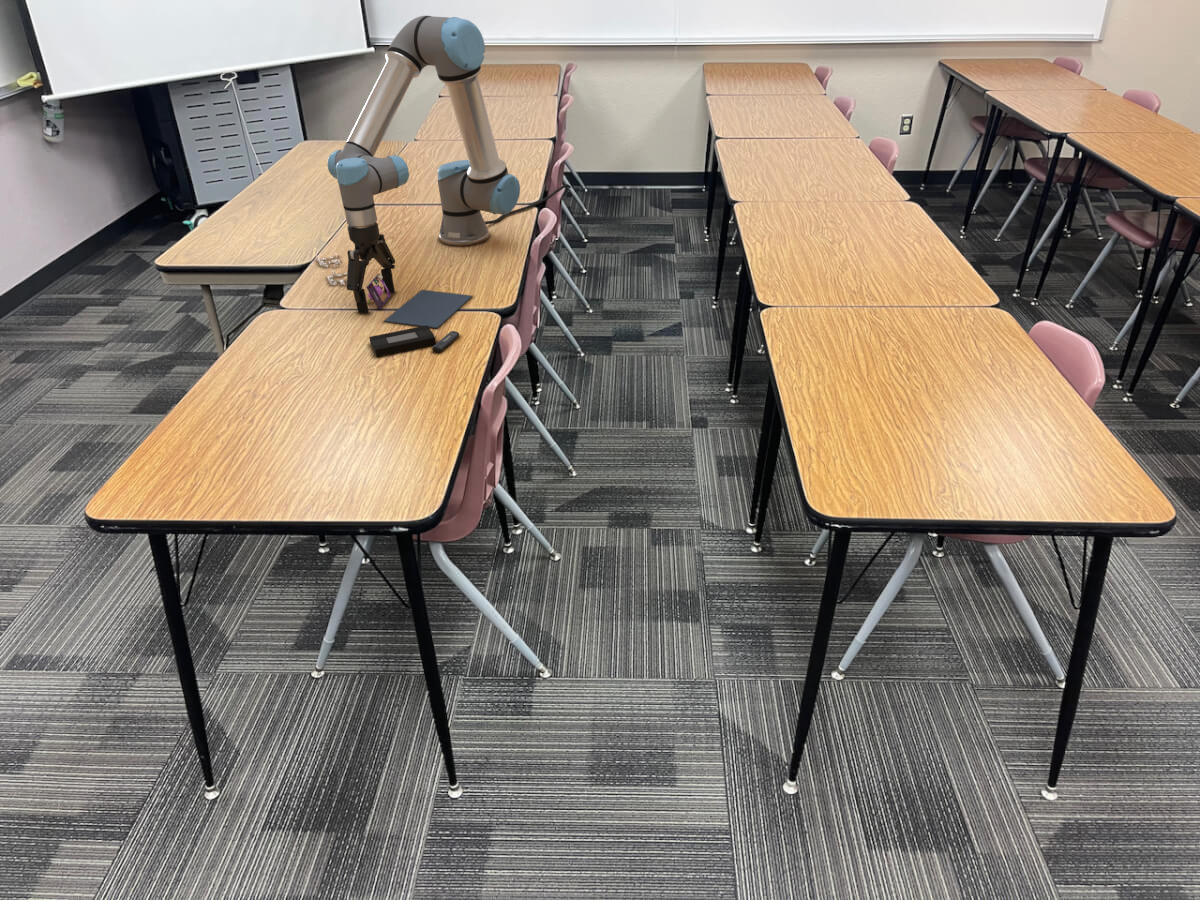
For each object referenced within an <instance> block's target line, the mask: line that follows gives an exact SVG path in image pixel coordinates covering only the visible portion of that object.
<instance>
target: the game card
mask: <svg viewBox="0 0 1200 900" xmlns="http://www.w3.org/2000/svg"><path fill="white" fill-rule="evenodd" d="M380 282H381V284H382V285H383V286H380V284H379V283H380ZM384 287H385V289H386V291H387V293H386V296H387V298H385V300H384V301H383V300H382V298H381V296H382V295H383V293H384ZM365 288H366V290H367V291H368V298H369V299H368V301H367V304H370V303H371V302H372V301H373V302H374V304H375V306H376V308H377V309H378V311H380V310H381V309H382V308H383V307H384V305H385V304H386V303H387V302H388V300H390V298H391V297H392V293H390V292H389V290H388V288H387V287H386V285H385V283H384V281H383V277H382V274H381V273H377V274H376V276H374V277H373V279H372V280H371V281H370V282H369V283H368V284H367V285H366V287H365Z"/></svg>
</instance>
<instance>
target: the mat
mask: <svg viewBox="0 0 1200 900" xmlns="http://www.w3.org/2000/svg"><path fill="white" fill-rule="evenodd" d="M472 297H473V296H472V295H470V294H469V295H468V294H459V293H452V292H451V293H450V292H443V291H435V290H427V289H421V290H420V291H418V292H417V293H416V294H415V295H414V296H413V297H411V298H410V299H409V300H407V301H406V302H405V303H404V304H402V306H400V307H399V308H398V309H397V310H395V311H394V312H393V313H392V314H390V315H389V316H388V317H387V318H386V319H384V323H388V324H389V323H390V324H396V325H397V324H398V325H405V326H412V327H421V326H426V325H428V327H429V328H430V329H435V330H438V329H439V328H440V327H441V326H442V325H443V324H444V323H446V321H448V320H449V319H450V318H451V317H452V316H453V315H455V313H457V311H459V310H460V309H461V308H462V307H463V306H464V305H465V304H466V303H467V302H469V301H470V300H471V299H472Z"/></svg>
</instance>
